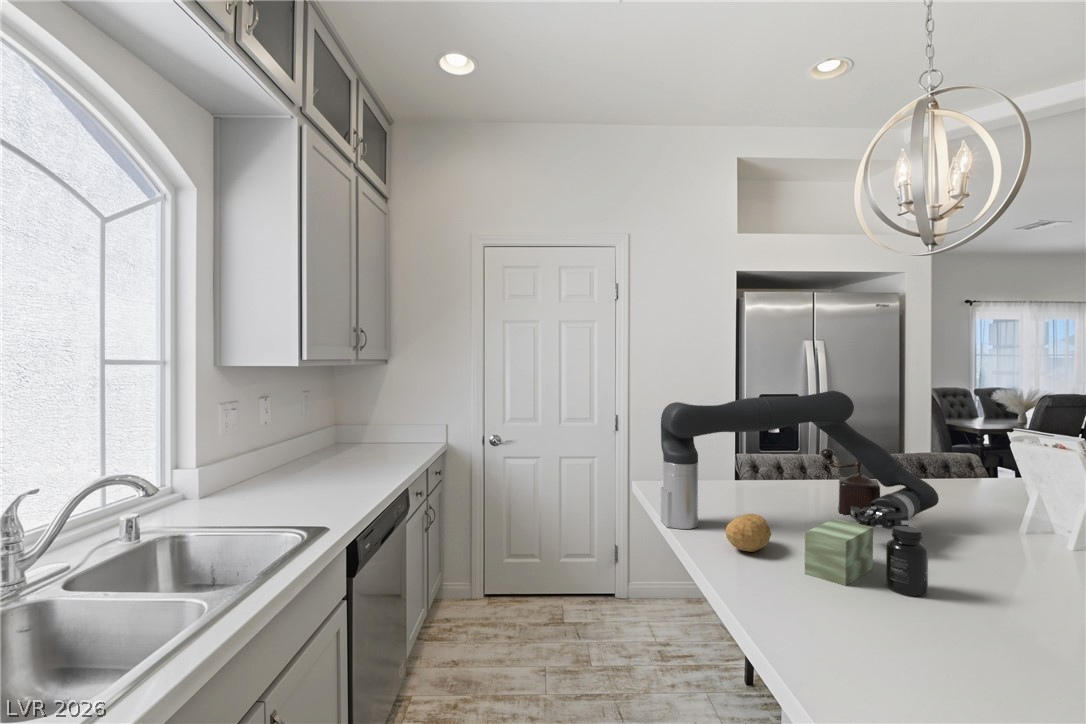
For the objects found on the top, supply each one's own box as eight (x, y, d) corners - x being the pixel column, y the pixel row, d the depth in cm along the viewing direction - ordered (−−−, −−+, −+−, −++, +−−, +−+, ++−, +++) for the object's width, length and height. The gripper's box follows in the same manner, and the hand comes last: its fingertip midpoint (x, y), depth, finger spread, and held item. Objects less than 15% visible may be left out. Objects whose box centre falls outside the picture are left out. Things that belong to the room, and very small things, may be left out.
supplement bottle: (936, 598, 102) (937, 534, 102) (900, 597, 103) (900, 534, 102) (912, 583, 109) (912, 523, 109) (878, 582, 109) (878, 523, 109)
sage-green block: (833, 558, 123) (834, 518, 123) (872, 568, 117) (873, 527, 117) (804, 574, 114) (804, 531, 114) (845, 586, 108) (845, 541, 108)
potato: (776, 545, 132) (776, 512, 132) (763, 562, 120) (763, 526, 120) (735, 537, 137) (735, 506, 137) (719, 553, 125) (719, 519, 125)
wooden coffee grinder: (877, 510, 163) (878, 450, 163) (881, 519, 153) (881, 456, 153) (820, 503, 170) (820, 446, 170) (819, 512, 160) (820, 452, 160)
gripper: (862, 490, 140) (833, 501, 129) (922, 500, 129) (896, 513, 118) (862, 519, 140) (833, 533, 129) (923, 531, 129) (897, 547, 118)
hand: (864, 523), depth 123 cm, fingers closed
